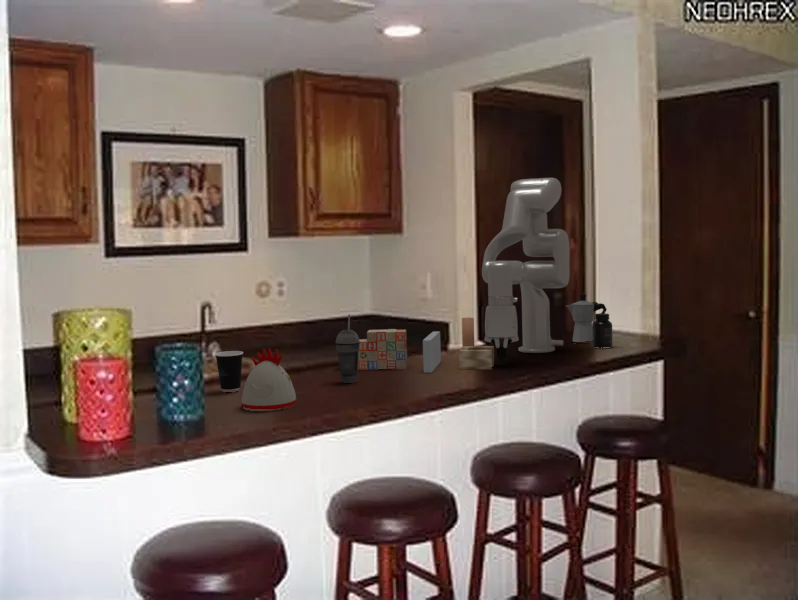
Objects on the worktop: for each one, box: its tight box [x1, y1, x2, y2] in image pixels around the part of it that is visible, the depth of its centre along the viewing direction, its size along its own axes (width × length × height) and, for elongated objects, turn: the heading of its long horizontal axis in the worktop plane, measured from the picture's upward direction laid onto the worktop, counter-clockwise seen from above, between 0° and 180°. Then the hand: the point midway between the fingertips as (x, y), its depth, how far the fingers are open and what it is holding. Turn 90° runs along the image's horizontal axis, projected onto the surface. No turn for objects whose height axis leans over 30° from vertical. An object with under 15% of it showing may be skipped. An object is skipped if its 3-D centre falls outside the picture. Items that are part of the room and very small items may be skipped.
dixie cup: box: [214, 350, 244, 391], centre depth 235 cm, size 8×8×11 cm
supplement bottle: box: [592, 312, 613, 348], centre depth 295 cm, size 7×7×12 cm
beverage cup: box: [334, 314, 360, 384], centre depth 243 cm, size 7×7×20 cm
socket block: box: [458, 345, 495, 370], centre depth 263 cm, size 10×10×6 cm
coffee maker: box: [565, 294, 607, 342], centre depth 309 cm, size 15×9×18 cm, turn 80°
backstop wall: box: [422, 330, 442, 374], centre depth 266 cm, size 2×22×10 cm, turn 170°
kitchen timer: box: [241, 347, 297, 409], centre depth 213 cm, size 14×14×15 cm
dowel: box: [461, 316, 475, 346], centre depth 277 cm, size 4×4×14 cm
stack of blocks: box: [358, 328, 408, 371], centre depth 267 cm, size 21×6×12 cm, turn 85°
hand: (502, 359), depth 262 cm, fingers closed
